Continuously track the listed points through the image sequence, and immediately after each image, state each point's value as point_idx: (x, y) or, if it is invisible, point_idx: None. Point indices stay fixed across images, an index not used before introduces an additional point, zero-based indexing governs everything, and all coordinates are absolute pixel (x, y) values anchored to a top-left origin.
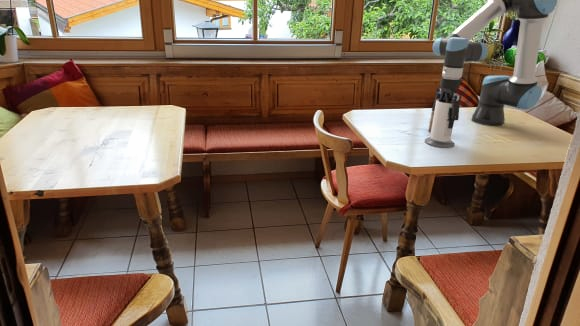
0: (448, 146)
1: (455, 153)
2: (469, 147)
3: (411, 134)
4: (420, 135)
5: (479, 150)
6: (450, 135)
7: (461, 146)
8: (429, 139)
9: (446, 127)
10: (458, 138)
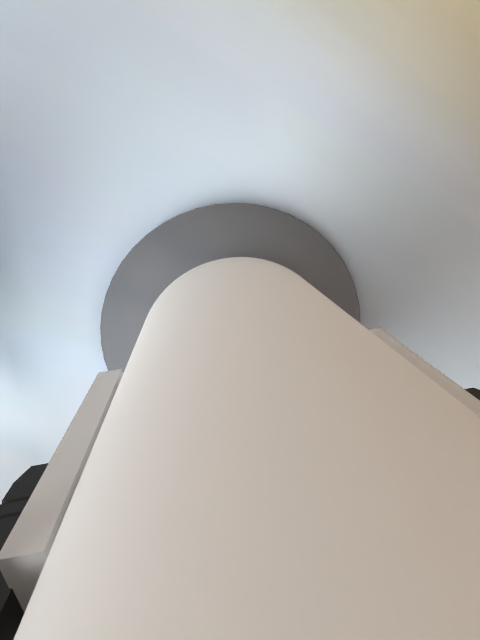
0: (359, 312)
1: (474, 304)
2: (366, 79)
3: (9, 482)
4: (24, 420)
5: (462, 10)
6: (380, 333)
7: (330, 158)
8: None
9: None
10: (59, 34)
